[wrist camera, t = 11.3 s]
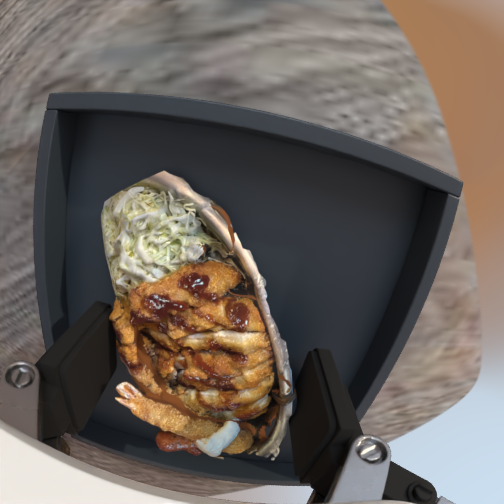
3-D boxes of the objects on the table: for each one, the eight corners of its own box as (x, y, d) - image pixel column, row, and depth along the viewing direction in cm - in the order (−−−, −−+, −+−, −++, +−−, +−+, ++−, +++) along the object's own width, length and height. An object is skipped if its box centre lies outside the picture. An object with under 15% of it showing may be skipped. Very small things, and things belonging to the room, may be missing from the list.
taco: (214, 149, 9) (191, 142, 6) (317, 408, 12) (330, 468, 9) (56, 229, 10) (-4, 258, 6) (187, 436, 13) (176, 490, 10)
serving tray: (79, 100, 9) (48, 92, 7) (432, 176, 10) (464, 181, 8) (83, 414, 14) (71, 437, 12) (306, 460, 15) (310, 486, 13)
